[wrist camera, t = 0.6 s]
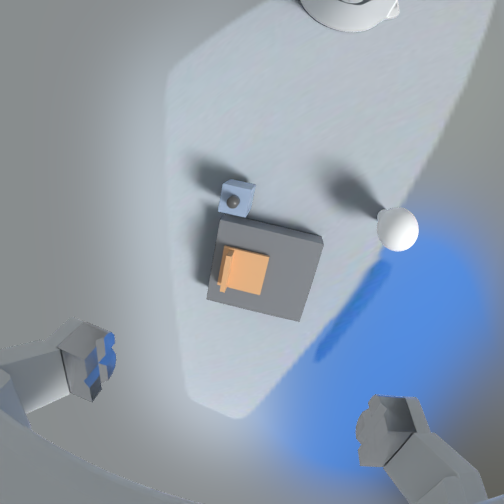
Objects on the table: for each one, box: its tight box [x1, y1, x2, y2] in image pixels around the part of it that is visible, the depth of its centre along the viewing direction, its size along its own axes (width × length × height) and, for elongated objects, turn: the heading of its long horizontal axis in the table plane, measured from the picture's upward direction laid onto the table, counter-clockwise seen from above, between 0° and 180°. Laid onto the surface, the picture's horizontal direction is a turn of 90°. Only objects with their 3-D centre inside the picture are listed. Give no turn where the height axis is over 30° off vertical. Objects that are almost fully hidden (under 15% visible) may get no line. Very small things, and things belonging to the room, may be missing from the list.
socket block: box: [207, 214, 324, 322], centre depth 51 cm, size 14×16×4 cm
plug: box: [218, 179, 256, 218], centre depth 45 cm, size 4×4×8 cm
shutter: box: [217, 245, 270, 295], centre depth 48 cm, size 7×7×3 cm
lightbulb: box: [377, 207, 418, 251], centre depth 43 cm, size 6×6×11 cm
